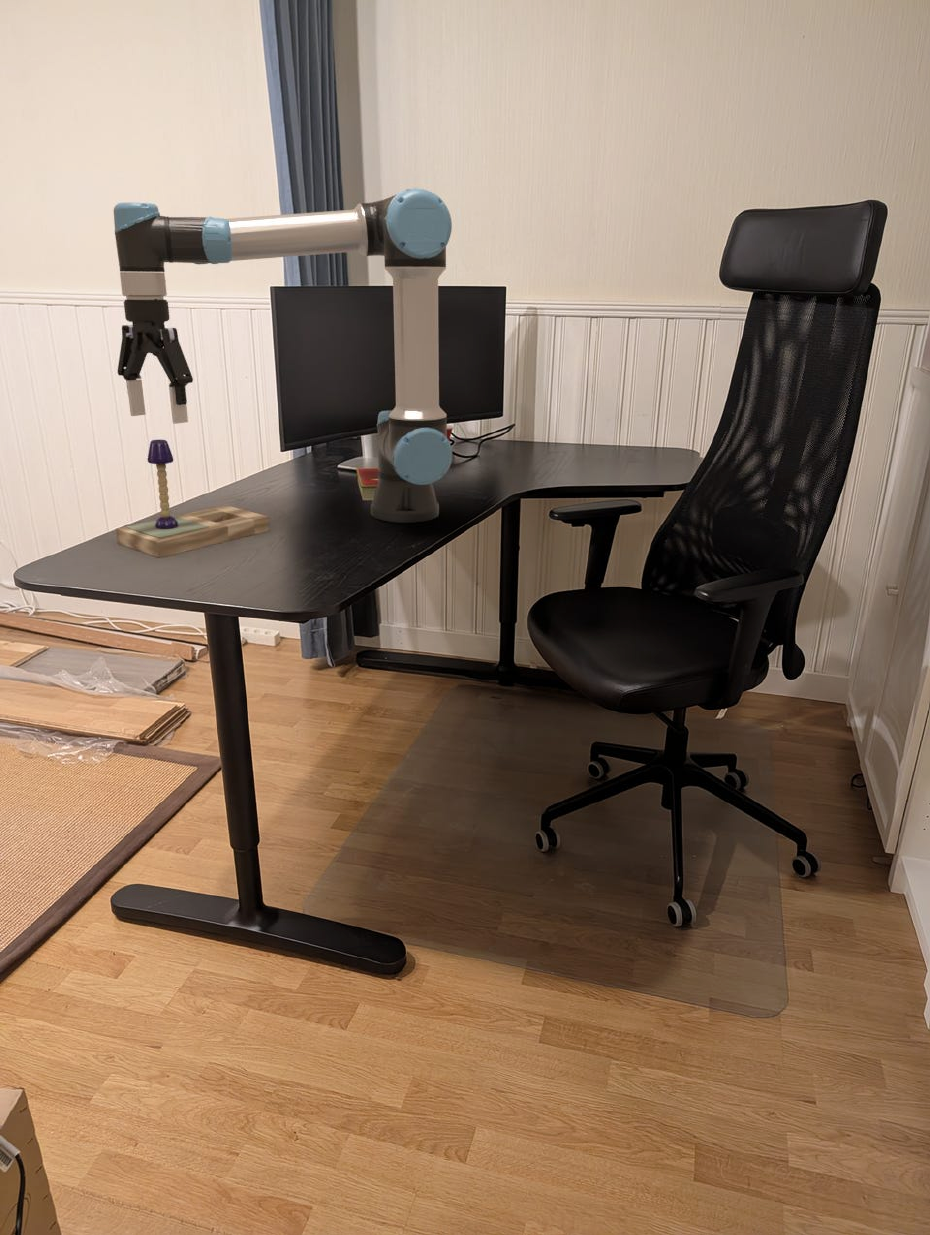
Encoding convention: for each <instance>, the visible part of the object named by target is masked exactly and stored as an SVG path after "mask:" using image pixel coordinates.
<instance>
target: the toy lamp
mask: <svg viewBox="0 0 930 1235" xmlns="http://www.w3.org/2000/svg"><path fill="white" fill-rule="evenodd" d="M147 462H148V463H149V464H152V465H155V467H156V470H157V471H156V476H157V478H158V479H157V485H158V493H159V496H158V498H159V501H160V503H159V508H160V516H161V517H158V519H156V520H157V521H156V524H155V527H156V528H160V529H169V528H174V527H177V526H178V522H177V520H176V519H175V518H173V516H171V512H170V503H169V499H170V497H169V494H168V493H169V488H168V480H167V477H168V475H167V474H168V473H167V471H166V468H167V464H172V463H173V462H174V457H173V455H172V451H171V448H170V444H169V442H168V441H167V440H165V439H152V440H151V441H150V443H149V449H148V454H147Z"/></svg>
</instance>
